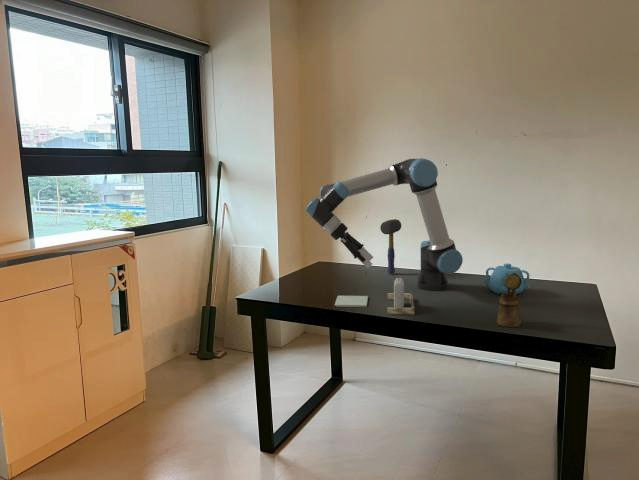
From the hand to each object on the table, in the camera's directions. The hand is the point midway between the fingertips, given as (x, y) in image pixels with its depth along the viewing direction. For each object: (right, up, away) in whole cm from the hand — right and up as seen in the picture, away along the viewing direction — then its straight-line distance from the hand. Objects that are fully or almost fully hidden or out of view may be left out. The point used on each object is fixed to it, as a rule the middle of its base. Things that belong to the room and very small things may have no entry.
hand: (370, 262), depth 212 cm
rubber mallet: (+17, -9, +58) cm, 61 cm away
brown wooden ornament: (+52, -22, -21) cm, 60 cm away
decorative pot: (+65, -15, +18) cm, 69 cm away
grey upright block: (+12, -19, +2) cm, 23 cm away
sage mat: (-8, -18, +10) cm, 22 cm away
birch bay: (+12, -19, +2) cm, 23 cm away
